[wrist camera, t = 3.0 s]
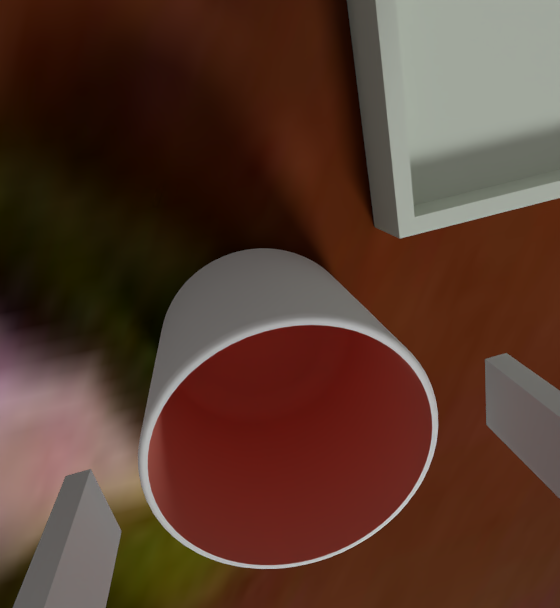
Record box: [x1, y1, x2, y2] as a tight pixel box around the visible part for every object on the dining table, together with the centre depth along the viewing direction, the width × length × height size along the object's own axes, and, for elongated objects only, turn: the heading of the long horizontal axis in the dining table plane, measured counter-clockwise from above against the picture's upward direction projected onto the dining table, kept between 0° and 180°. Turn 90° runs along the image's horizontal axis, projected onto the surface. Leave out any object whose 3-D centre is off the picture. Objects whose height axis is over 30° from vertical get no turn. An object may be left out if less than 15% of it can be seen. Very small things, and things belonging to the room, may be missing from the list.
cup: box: [138, 248, 438, 569], centre depth 19 cm, size 10×10×10 cm
